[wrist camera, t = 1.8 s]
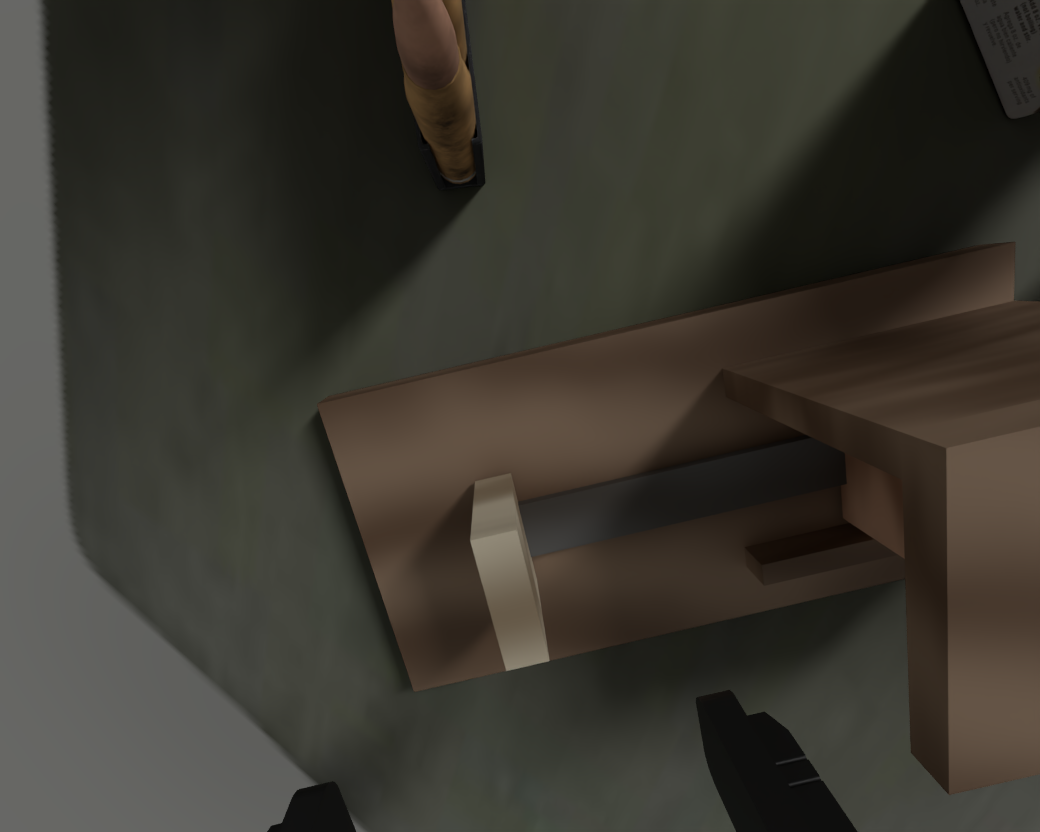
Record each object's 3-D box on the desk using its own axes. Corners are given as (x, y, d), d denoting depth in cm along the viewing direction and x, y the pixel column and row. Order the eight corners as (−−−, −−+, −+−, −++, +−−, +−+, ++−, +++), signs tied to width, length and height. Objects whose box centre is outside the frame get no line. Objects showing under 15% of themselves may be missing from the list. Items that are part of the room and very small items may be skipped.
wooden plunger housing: (328, 396, 21) (138, 525, 10) (979, 244, 21) (1555, 196, 10) (418, 668, 25) (356, 997, 13) (976, 539, 25) (1396, 758, 13)
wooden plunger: (472, 470, 21) (466, 526, 16) (978, 352, 21) (1128, 372, 16) (505, 596, 22) (509, 683, 17) (977, 486, 22) (1114, 543, 17)
